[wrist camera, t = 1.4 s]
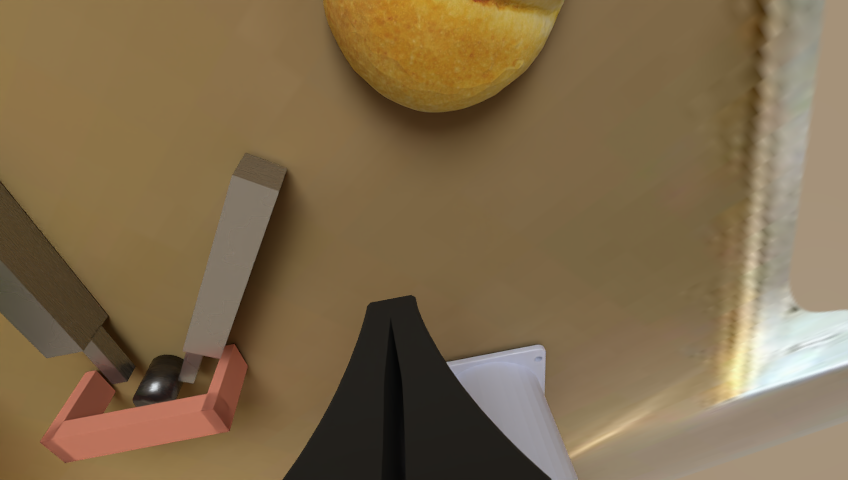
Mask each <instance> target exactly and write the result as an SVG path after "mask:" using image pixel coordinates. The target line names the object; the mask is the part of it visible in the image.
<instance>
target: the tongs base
mask: <svg viewBox="0 0 848 480" xmlns="http://www.w3.org/2000/svg"><path fill="white" fill-rule="evenodd" d="M0 312H1V313H2V314H3V315H4V316H5V317H6V318H7V319H8V320H9V321H10V322H11V323H12V324H13V325H14V326H15V327H16V328H17V329H18V330H19V331H20V332H21V333H22V334H23V335H24V336H25V337H26V338H27V339H28V340H29V341H30V342H31V343H32V344H33V345H34V346H35V347H36V348H37V349H38V350H39V351H40V352H41V353H42V354H43V355H44V356H45V357H46V358H50V357H55V356H60V355H66V354H71V353H76V352H81V351H83V352H84V353H85V354H86V356H87V357H88V358H89V359H90V360H91V361H92V362H93V363H94V364H95V365H96V367H97V368H98V369H99V370H100V371H101V372H102V373H103V374H104V375H105V376H106V377H107V379H108V380H109V381H110V382H111V383H112V384H116V383H121V382H127V381H128V379H129V377H130V376H131V374H132V372H133V370H134V368H135V367H136V366H135V365H134V364H133V363H132V362H131V360H130V359H129V358H128V357H127V356H126V354H125V353H124V352H123V351H122V350H121V348H120V347H119V346H118V345H117V344H116V342H115V341H114V340H113V339H112V338H111V336H110V335H109V334H108V333H107V332H106V330H105V329H104V328H103V327H102V324H103V323H104V321H105V320H106V318H107V317H108V315H107V314H106V313H105V311H104V310H103V309H102V308H101V306H100V305H99V304H98V303H97V302H96V300H95V299H94V298H93V297H92V295H91V294H90V293H89V292H88V290H87V289H86V288H85V287H84V285H83V284H82V283H81V282H80V280H79V279H78V278H77V277H76V275H75V274H74V273H73V272H72V271H71V269H70V268H69V267H68V266H67V264H66V263H65V262H64V261H63V259H62V258H61V257H60V256H59V254H58V253H57V252H56V251H55V249H54V248H53V247H52V246H51V244H50V243H49V242H48V241H47V239H46V238H45V237H44V236H43V235H42V233H41V232H40V231H39V230H38V228H37V227H36V226H35V225H34V223H33V222H32V221H31V220H30V218H29V217H28V216H27V215H26V213H25V212H24V211H23V210H22V208H21V207H20V206H19V205H18V203H17V202H16V201H15V200H14V199H13V197H12V196H11V195H10V194H9V192H8V191H7V190H6V189H5V187H4V186H3V185H2V184H1V182H0ZM183 362H184V360H183V359H181V358H179V357H177V356H173V355H161V356H158V357H156V358H154V359H153V360H152V362H151V364H150V366H149V368H148V370H147V372H146V374H145V376H144V378H143V380H142V381H141V383H140V385H139V387H138V389H137V391H136V393H135V395H134V397H133V403H134V404H135V406H136V407H140V406H146V405H151V404H156V403H161V402H167V401H172V400H176V398H177V396H178V393H179V391H180V389H181V386H182V384H183V381H178V379H179V376H180V372H181V369H182V365H183Z"/></svg>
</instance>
